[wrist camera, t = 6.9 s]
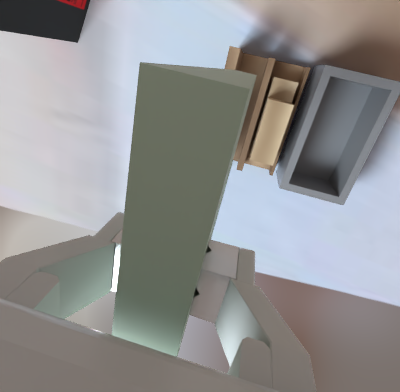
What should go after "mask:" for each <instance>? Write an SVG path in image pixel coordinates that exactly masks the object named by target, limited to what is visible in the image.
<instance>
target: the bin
mask: <svg viewBox="0 0 400 392" xmlns="http://www.w3.org/2000/svg"><path fill="white" fill-rule="evenodd" d="M399 95H400V82H398V81H394V80H390V79H386V78H381V77H377V76H373V75H368V74H364V73H360V72H355V71H351V70H347V69H342V68H338V67H334V66H329V65H317V66H314V68H313V71H312V74H311V77H310V79H309V82H308V85H307V88H306V91H305V93H304V96H303V99H302V102H301V104H300V107H299V110H298V113H297V115H296V118H295V121H294V124H293V127H292V129H291V132H290V135H289V138H288V140H287V143H286V146H285V149H284V152H283V154H282V157H281V160H280V163H279V165H278V168H277V171H276V173H277V179H278V184H279V188H281V189H285V190H288V191H292V192H296V193H300V194H303V195H307V196H311V197H314V198H318V199H322V200H325V201H329V202H333V203H336V204H340V205H344V203H345V201H346V199H347V197H348V195H349V193H350V191H351V189H352V187H353V185H354V183H355V181H356V179H357V177H358V175H359V173H360V171H361V170H362V168H363V166H364V164H365V162H366V160H367V158H368V156H369V154H370V152H371V150H372V148H373V146H374V144H375V142H376V140H377V138H378V136H379V134H380V132H381V130H382V128H383V126H384V124H385V122H386V120H387V118H388V116H389V114H390V112H391V110H392V108H393V106H394V104H395V102H396V101H397V99H398V97H399Z"/></svg>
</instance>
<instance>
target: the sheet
mask: <svg viewBox="0 0 400 392" xmlns="http://www.w3.org/2000/svg"><path fill="white" fill-rule="evenodd" d="M256 76H257V75H254V74H250V73H246V72H242V71H237V70H229V69H217V68H204V67H192V66H179V65H167V64H154V63H142V62H140V67H139V77H138V86H137V96H136V106H135V115H134V125H133V135H132V144H131V154H130V163H129V173H128V183H127V192H126V202H125V212H124V221H123V231H122V240H121V250H120V260H119V269H118V279H117V289H116V298H115V308H114V317H113V327H112V335H113V336H116V337H119V338H122V339H125V340H128V341H131V342H134V343H137V344H140V345H143V346H146V347H149V348H152V349H155V350H158V351H161V352H164V353H167V354H170V355H173V356H176V357H177V356H178V352H179V349H180V345H181V342H182V338H183V335H184V331H185V328H186V324H187V321H188V317H189V311H190V307H191V304H192V300H193V297H194V293H195V290H196V286H197V282H198V279H199V275H200V271H201V268H202V264H203V261H204V257H205V254H206V251H207V247H208V244H209V240H211V237H212V233H213V230H214V226H215V223H216V219H217V216H218V212H219V208H220V205H221V201H222V198H223V194H224V191H225V187H226V184H227V180H228V176H229V173H230V169H231V166H232V162H233V158H234V155H235V151H236V148H237V144H238V141H239V137H240V133H241V130H242V126H243V123H244V119H245V116H246V112H247V108H248V105H249V101H250V98H251V94H252V90H253V87H254V83H255V80H256Z"/></svg>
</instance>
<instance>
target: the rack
mask: <svg viewBox="0 0 400 392" xmlns="http://www.w3.org/2000/svg"><path fill="white" fill-rule="evenodd" d="M225 69H229V70H237V71H242V72H246V73H250V74H254V75H257V76H256V80H255V83H254V87H253V90H252V94H251V98H250V101H249V105H248V108H247V112H246V116H245V119H244V123H243V126H242V130H241V133H240V137H239V141H238V144H237V148H236V151H235V155H234V158H233V160H235V161H238V165H237V170H241V171H242V169H243V166H244V163H246V164H250V165H254V166H257V167H261V168H265V169H269V173H270V175H273V172H274V170H275V167H276V164H277V161H278V158H279V156H280V153H281V150H282V147H283V144H284V141H285V139H286V136H287V133H288V130H289V127H290V125H291V122H292V119H293V116H294V113H295V111H296V108H297V105H298V102H299V99H300V97H301V94H302V91H303V88H304V85H305V83H306V80H307V77H308V74H309V71H310V69H311V68H310V67H302V66H298V65H293V64H289V63H285V62H280V61H276V60H275V59H274V58H270V57H269V58H263V57H259V56H255V55H251V54H246V53H243V51H242V50H241V49H240V48H236V47H231V46H230V48H229V52H228V57H227V61H226V65H225ZM272 77H277V78H281V79H285V80H289V81H293V82H297V83H298V86H297V89H296V91H295V94H294V97H293V100H292V104H293V105H294V107H293V110H292V113H291V116H290V119H289V122H288V125H287V127H286V130H285V133H284V136H283V139H282V142H281V144H280V147H279V150H278V153H277V156H276V159H275V162H274V164H273V166H272V165H268V164H264V163H260V162H257V161H253V160H250V157H249V156H250V150H251V146H252V143H253V140H254V137H255V133H256V130H257V127H258V123H259V120H260V117H261V114H262V110H263V107H264V104H265V100H266V97H267V94H268V91H269V87H270V84H271V81H272Z"/></svg>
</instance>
